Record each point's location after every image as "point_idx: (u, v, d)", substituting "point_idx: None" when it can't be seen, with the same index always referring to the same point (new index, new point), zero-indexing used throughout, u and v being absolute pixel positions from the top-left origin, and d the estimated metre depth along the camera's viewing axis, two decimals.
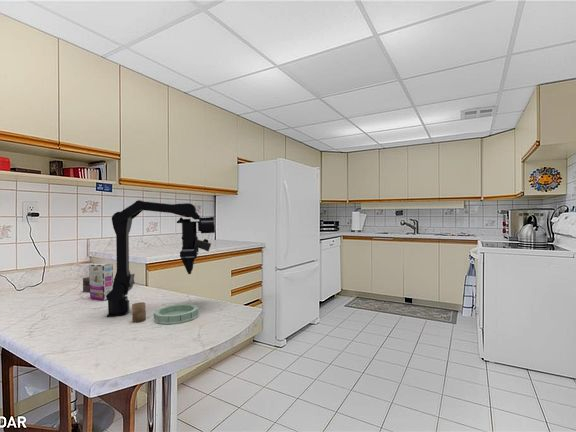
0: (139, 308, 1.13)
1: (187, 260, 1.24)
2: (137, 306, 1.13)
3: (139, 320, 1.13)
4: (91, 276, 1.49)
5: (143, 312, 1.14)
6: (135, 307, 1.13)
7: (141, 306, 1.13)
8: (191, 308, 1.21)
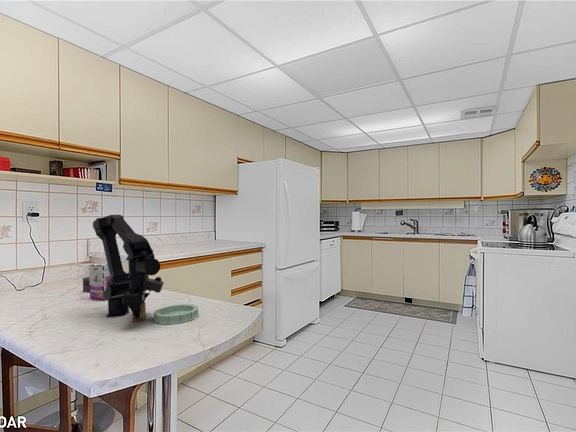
0: None
1: (134, 303, 1.11)
2: None
3: (139, 320, 1.13)
4: (91, 276, 1.49)
5: (143, 312, 1.14)
6: None
7: (141, 306, 1.13)
8: (191, 308, 1.21)
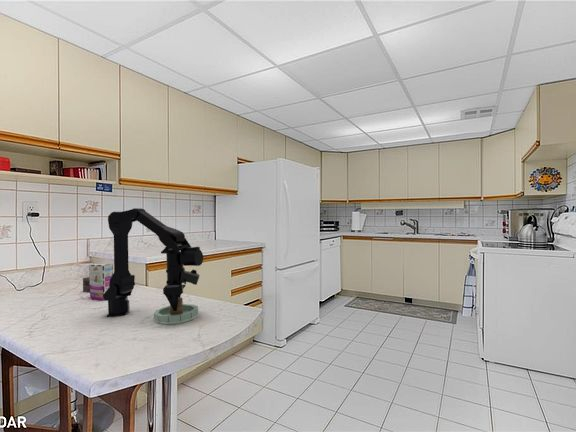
0: None
1: (172, 296, 1.12)
2: None
3: None
4: (91, 276, 1.49)
5: (181, 307, 1.16)
6: None
7: (179, 301, 1.15)
8: (191, 308, 1.21)
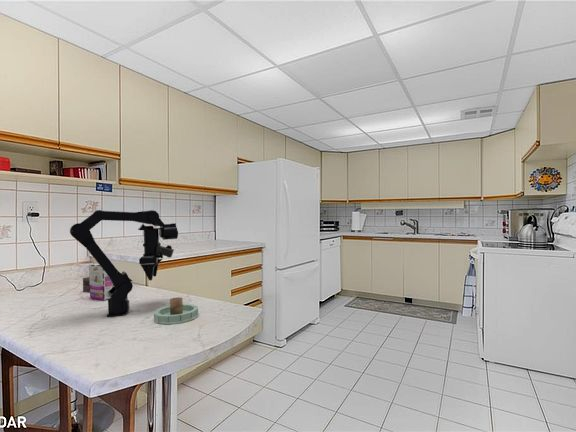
0: (177, 303, 1.15)
1: (147, 267, 1.26)
2: (175, 301, 1.15)
3: None
4: (91, 276, 1.49)
5: (181, 307, 1.16)
6: (173, 302, 1.15)
7: (179, 301, 1.15)
8: (191, 308, 1.21)
